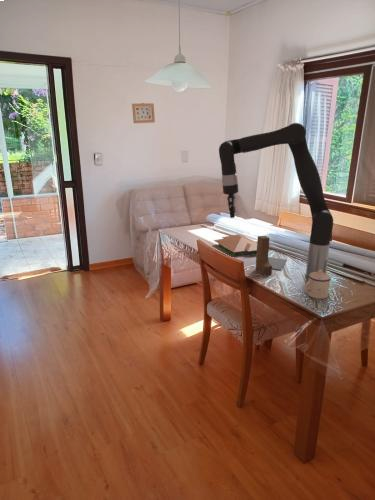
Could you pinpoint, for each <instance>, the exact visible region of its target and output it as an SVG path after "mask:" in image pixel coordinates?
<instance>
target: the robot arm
mask: <svg viewBox="0 0 375 500" xmlns="http://www.w3.org/2000/svg"><path fill="white" fill-rule="evenodd" d="M306 135H307V130H306V128H305V126H304V125H303V124H301V122H300V123H299V122H293V123H290V124H289V125H286V126H285V127H282V128H279V129H277V130H273V131H267V132H264V133H258V134H252V135H248V136H244V137H241V138H237V139H229V140H225V141H224V142H222V143H221V144H220V145H219V148H218V154H219V159H220V160H219V161H220V165H221V167H220V169H221V182H222V183H221V184H222V193H223V194H224V195H228V196H227V197H226V198H227V199H226V200H227V206H228V210H229V217H230V218H231V219H232V218H233V219H234V218H235V216H236V215H235V214H236V195H235V194H237V193H239V183H238V175H237V165H236V163H235V155H237V154H241V153H243V154H245V153H246V154H247V153H250V152H253V151H255V152H256V151H259V150H262V149H266V148H270V147H272V146H273V147H274V146H279V145H288V147H289V149H290V151H291V154H292V157H293V163H294V166H295V171H296V175H297V179H298V182H299V185H300V188H301V190H302V192H303V194H304V197H305V198H306V200H307V202H308V205H309V209H310V214H311V229H310V237H309V244H308V253H307V260H306V271H305V276H306V277H307V278H309V274H310V273H312V272H317V271H318V270H323V272H324V273H326V274H327V270H328V269H327V268H328V263H329V262H328V261H329V253H330V245H331V239H332V235H333V234H332V233H333V229H334V217H333V215H332V213H331V211H330V209H329V207H328V204H327V202H326V200H325V196H324V192H323V191H324V190H323V183H322V180H321V176H320V173H319V170H318V167H317V165H316V163H315V161H314V159H313V156H312V155H311V152H310V150H309V147H308V142H307V139H306Z"/></svg>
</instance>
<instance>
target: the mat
mask: <svg viewBox="0 0 375 500" xmlns="http://www.w3.org/2000/svg"><path fill="white" fill-rule="evenodd" d="M287 260H288V259H285V258H277V257H270V256H268V261H269V263H270V265H272V271H273V270H275V271H282V270H283V268H284V267H285V264H286V263H287V262H288V261H287Z"/></svg>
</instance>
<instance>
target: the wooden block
mask: <svg viewBox="0 0 375 500" xmlns="http://www.w3.org/2000/svg"><path fill="white" fill-rule="evenodd" d="M269 249H270V237H269V236H267V235H258V236H257V252H256V254H255V255H256V256H255V257H256V259H255V270H256V271H258V272H259V273H260V274H262V275H263V276H267V275H272V271H273V269H272V265H270V263H269V261H268V257H269Z"/></svg>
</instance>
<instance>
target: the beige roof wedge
mask: <svg viewBox="0 0 375 500" xmlns="http://www.w3.org/2000/svg"><path fill="white" fill-rule="evenodd" d="M213 242H215V243H217V244H218V246H219V248H220V249H222V250H224V251H225V252H226V253H228V254H230V255H231V256H234V257H235V256H237V253H238V255H240V256H243V254H244V255H245V256H246V255H251V253H252V255H253V256H255V253H257V242H256V241H255V240H252V239H251V238H249V237H246V236H244V235H243V234H232V235H228V236H222V237H221V238H220V239H214V240H213ZM228 251H229V252H228Z"/></svg>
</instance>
